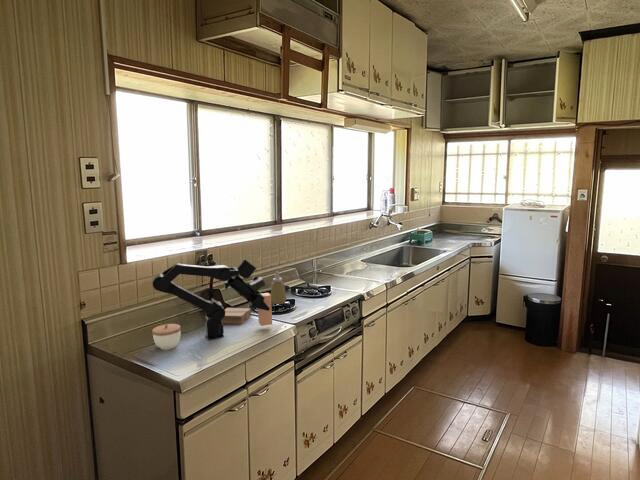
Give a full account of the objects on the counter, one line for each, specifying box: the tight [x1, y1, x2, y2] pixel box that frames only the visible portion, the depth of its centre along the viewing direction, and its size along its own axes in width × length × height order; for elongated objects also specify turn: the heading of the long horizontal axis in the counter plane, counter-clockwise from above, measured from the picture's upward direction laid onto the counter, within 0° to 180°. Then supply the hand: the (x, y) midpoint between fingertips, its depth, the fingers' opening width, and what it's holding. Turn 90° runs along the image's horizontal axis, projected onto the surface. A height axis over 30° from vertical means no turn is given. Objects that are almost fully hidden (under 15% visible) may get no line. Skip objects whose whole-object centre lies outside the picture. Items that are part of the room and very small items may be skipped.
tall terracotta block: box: [257, 292, 273, 327], centre depth 190 cm, size 5×5×13 cm
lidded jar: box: [151, 323, 182, 351], centre depth 174 cm, size 11×11×9 cm
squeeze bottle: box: [270, 271, 287, 305], centre depth 223 cm, size 8×8×18 cm
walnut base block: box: [221, 307, 252, 325], centre depth 205 cm, size 12×12×4 cm
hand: (267, 308), depth 191 cm, fingers closed on tall terracotta block, 5 cm apart
